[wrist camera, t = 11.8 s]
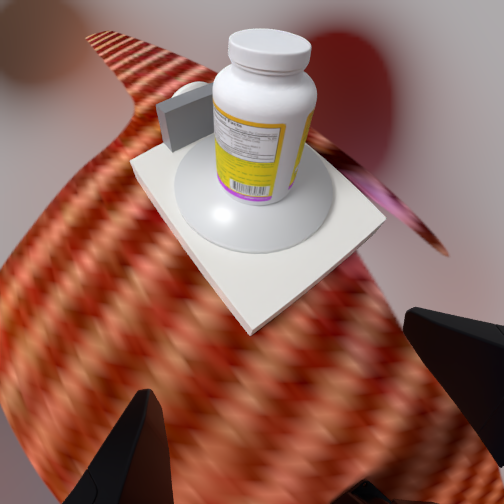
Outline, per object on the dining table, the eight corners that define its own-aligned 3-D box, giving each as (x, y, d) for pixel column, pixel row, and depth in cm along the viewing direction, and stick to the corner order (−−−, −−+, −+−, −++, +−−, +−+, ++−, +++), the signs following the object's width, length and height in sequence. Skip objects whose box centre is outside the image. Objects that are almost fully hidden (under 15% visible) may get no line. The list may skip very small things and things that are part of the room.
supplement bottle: (266, 144, 26) (285, 21, 14) (307, 191, 23) (353, 58, 12) (203, 167, 24) (193, 31, 12) (239, 222, 22) (249, 68, 10)
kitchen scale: (374, 233, 27) (414, 182, 19) (250, 336, 22) (259, 311, 14) (248, 119, 33) (253, 62, 25) (133, 174, 28) (112, 115, 20)
